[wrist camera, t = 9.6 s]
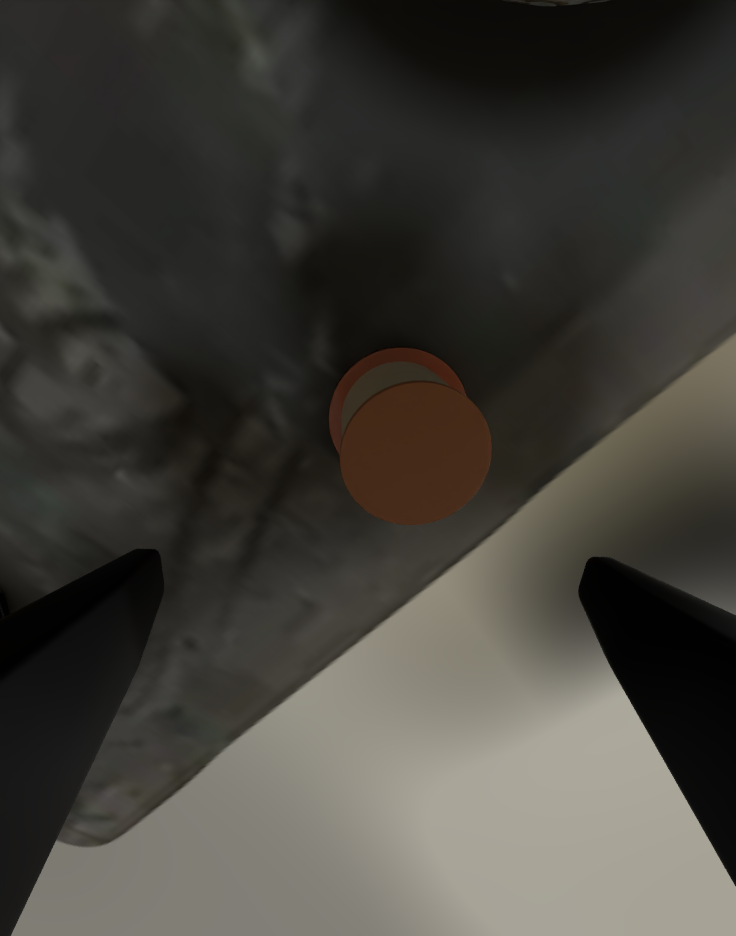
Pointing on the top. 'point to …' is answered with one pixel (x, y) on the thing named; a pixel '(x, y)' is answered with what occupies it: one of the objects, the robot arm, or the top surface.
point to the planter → (554, 2)
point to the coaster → (373, 361)
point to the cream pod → (411, 445)
